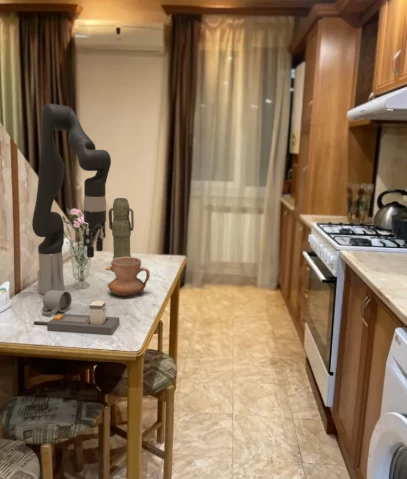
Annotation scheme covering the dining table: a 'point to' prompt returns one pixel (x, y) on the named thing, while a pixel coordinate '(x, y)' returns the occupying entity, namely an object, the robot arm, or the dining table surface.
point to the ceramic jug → (127, 276)
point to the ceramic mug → (56, 301)
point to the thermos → (121, 227)
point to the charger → (98, 313)
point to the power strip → (80, 324)
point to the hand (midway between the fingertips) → (95, 254)
